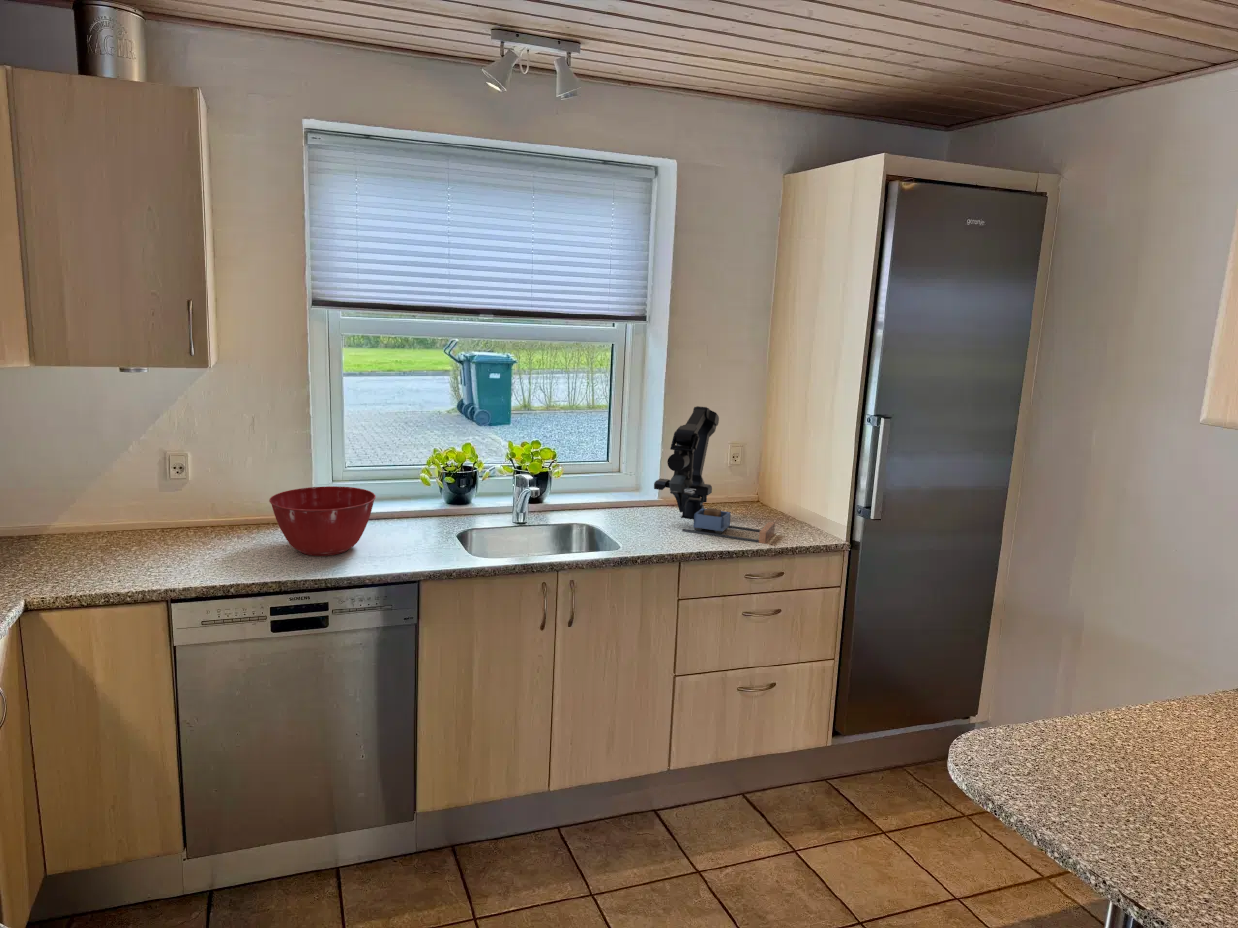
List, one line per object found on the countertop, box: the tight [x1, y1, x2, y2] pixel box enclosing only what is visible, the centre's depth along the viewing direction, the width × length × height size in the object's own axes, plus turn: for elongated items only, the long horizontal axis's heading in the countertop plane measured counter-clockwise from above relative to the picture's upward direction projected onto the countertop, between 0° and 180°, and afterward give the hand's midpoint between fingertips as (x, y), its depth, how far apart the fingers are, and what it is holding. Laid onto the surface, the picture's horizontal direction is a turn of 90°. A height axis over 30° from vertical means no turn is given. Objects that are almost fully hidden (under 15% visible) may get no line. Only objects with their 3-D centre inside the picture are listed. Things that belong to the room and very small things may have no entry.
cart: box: [692, 508, 731, 534], centre depth 288 cm, size 10×9×6 cm
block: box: [704, 507, 722, 517], centre depth 288 cm, size 4×4×4 cm
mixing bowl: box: [268, 485, 377, 557], centre depth 246 cm, size 28×28×15 cm
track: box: [681, 521, 776, 544], centre depth 286 cm, size 28×14×4 cm, turn 68°
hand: (681, 512), depth 292 cm, fingers closed
